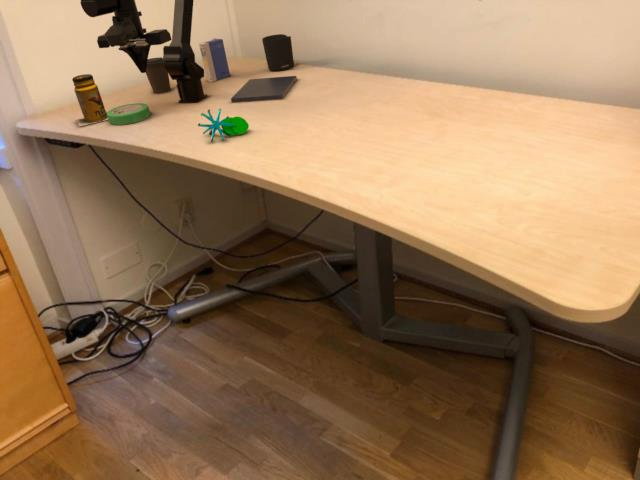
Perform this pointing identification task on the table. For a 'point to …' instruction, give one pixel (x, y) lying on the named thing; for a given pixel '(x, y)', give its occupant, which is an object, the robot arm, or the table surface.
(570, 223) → the table surface
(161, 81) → the coffee cup
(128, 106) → the tape roll
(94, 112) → the condiment
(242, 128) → the stick construction toy
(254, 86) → the notebook
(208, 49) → the blue white rectangular box
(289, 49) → the black speaker
